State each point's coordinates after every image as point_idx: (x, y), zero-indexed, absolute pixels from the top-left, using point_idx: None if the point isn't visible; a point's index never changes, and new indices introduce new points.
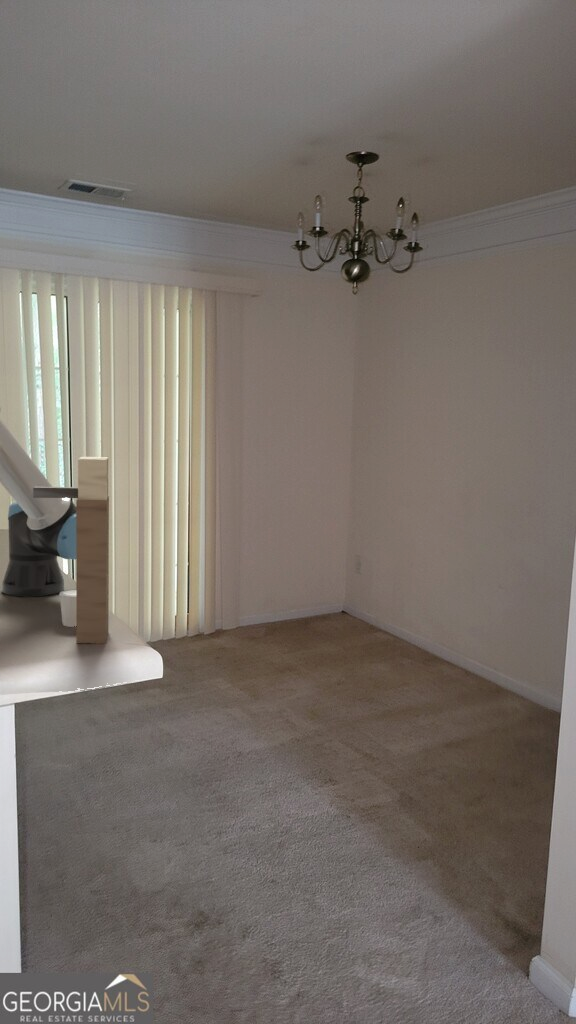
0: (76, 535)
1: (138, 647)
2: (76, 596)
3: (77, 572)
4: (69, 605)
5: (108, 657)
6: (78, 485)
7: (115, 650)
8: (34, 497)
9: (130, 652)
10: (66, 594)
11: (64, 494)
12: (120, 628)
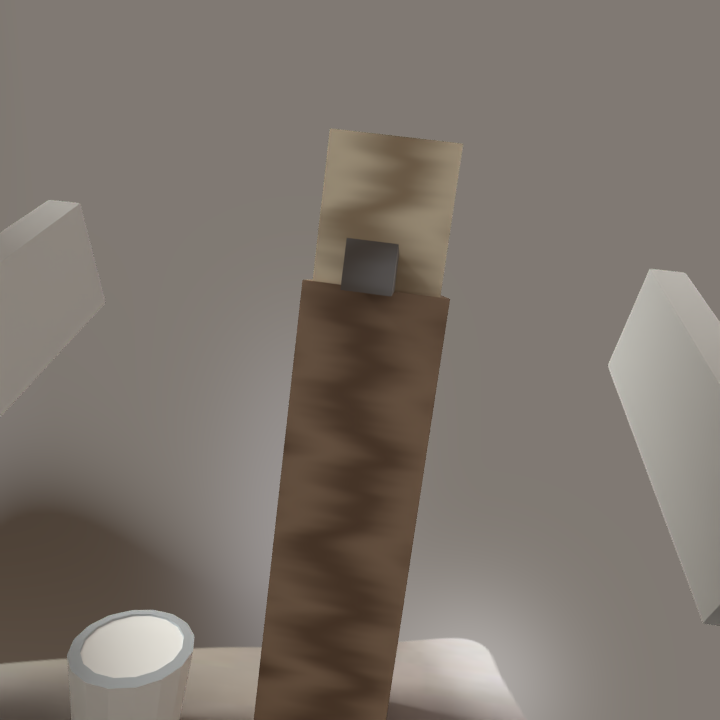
0: (430, 425)
1: (420, 648)
2: (399, 626)
3: (411, 548)
4: (175, 698)
5: (504, 711)
6: (447, 245)
7: (444, 690)
8: (390, 295)
9: (460, 667)
10: (145, 671)
11: (395, 278)
12: (244, 653)
